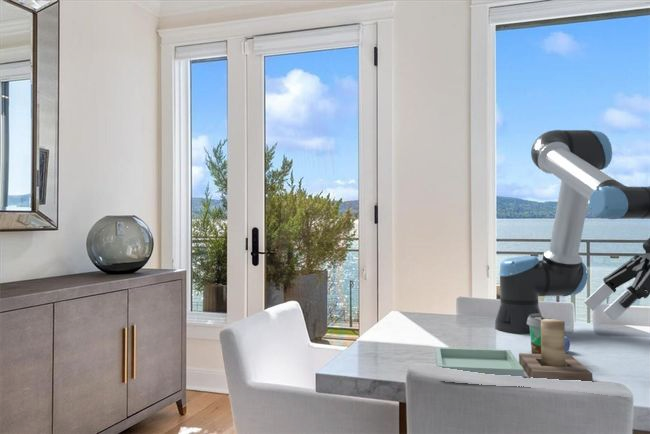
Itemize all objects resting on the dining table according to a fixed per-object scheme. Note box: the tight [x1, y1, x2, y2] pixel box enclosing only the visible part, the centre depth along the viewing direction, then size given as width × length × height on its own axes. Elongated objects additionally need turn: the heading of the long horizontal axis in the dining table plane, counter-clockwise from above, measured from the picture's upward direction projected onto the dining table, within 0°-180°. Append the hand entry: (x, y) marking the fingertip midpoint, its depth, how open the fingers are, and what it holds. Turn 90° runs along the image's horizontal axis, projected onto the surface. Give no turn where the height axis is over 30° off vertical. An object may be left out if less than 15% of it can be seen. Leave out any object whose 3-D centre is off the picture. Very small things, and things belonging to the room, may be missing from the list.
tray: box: [435, 346, 525, 378], centre depth 124 cm, size 18×18×3 cm
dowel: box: [541, 318, 566, 367], centre depth 121 cm, size 5×5×12 cm
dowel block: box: [518, 352, 594, 382], centre depth 121 cm, size 16×12×2 cm
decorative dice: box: [565, 335, 571, 354], centre depth 143 cm, size 4×4×4 cm
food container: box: [527, 313, 548, 354], centre depth 138 cm, size 12×6×10 cm, turn 5°
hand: (597, 311), depth 119 cm, fingers open, 13 cm apart
